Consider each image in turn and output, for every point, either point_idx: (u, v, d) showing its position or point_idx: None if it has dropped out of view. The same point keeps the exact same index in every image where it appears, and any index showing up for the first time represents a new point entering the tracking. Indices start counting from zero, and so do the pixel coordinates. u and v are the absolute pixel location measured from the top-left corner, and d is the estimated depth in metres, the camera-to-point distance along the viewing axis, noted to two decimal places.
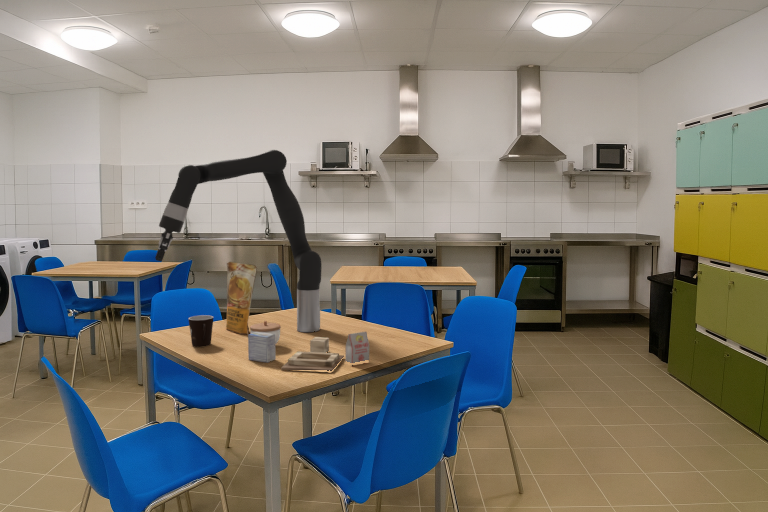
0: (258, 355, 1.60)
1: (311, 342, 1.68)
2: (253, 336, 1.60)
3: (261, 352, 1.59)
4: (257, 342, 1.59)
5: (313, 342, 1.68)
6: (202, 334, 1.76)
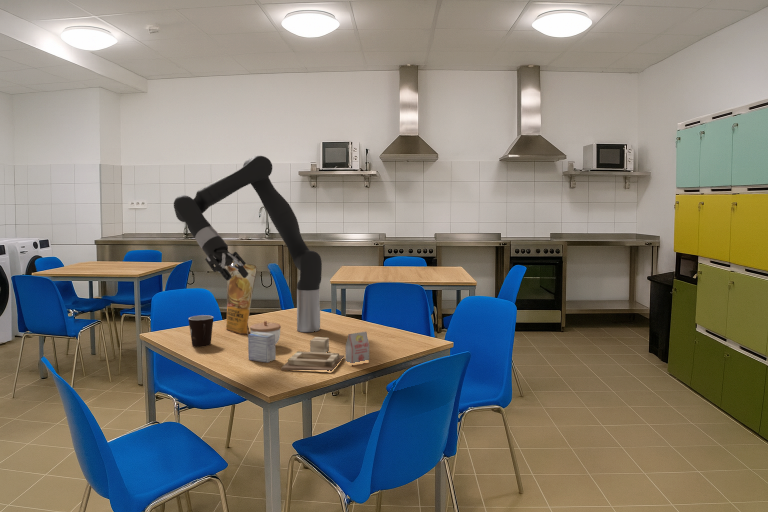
0: (258, 355, 1.60)
1: (311, 342, 1.68)
2: (253, 336, 1.60)
3: (261, 352, 1.59)
4: (257, 342, 1.59)
5: (313, 342, 1.68)
6: (202, 334, 1.76)
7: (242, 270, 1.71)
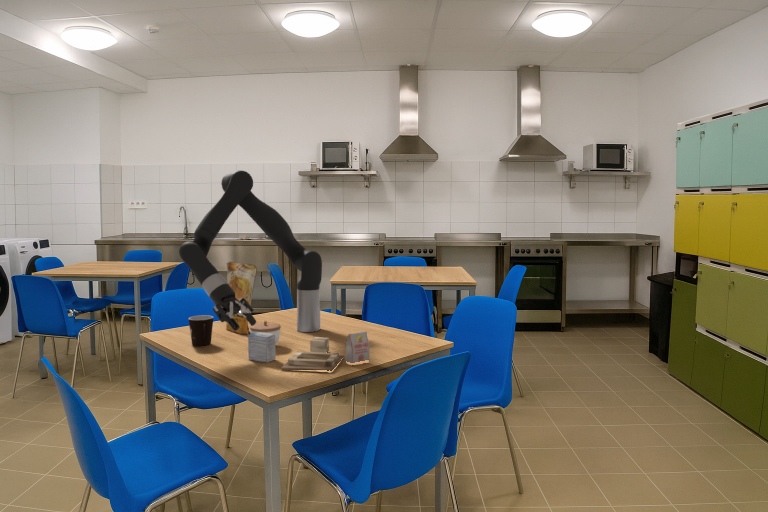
0: (258, 355, 1.60)
1: (311, 342, 1.68)
2: (253, 336, 1.60)
3: (261, 352, 1.59)
4: (257, 342, 1.59)
5: (313, 342, 1.68)
6: (202, 334, 1.76)
7: (250, 318, 1.67)
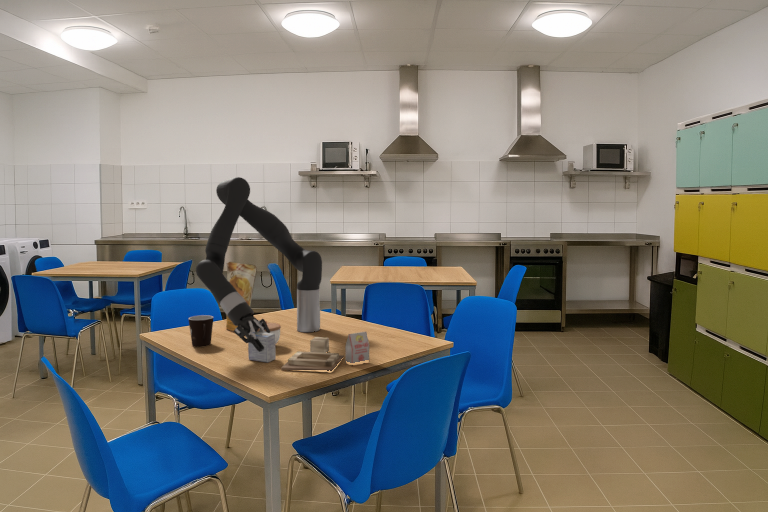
0: (258, 355, 1.60)
1: (311, 342, 1.68)
2: None
3: (261, 352, 1.59)
4: None
5: (313, 342, 1.68)
6: (202, 334, 1.76)
7: None
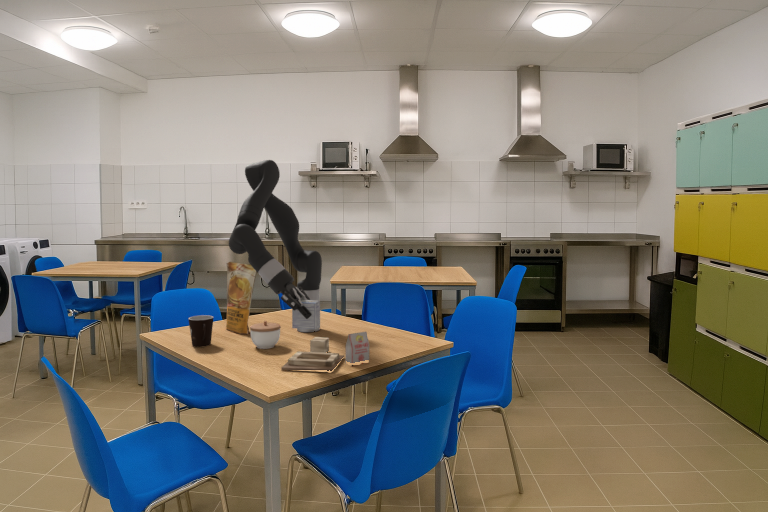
0: (304, 322, 1.54)
1: (311, 342, 1.68)
2: None
3: (308, 319, 1.54)
4: None
5: (313, 342, 1.68)
6: (202, 334, 1.76)
7: None
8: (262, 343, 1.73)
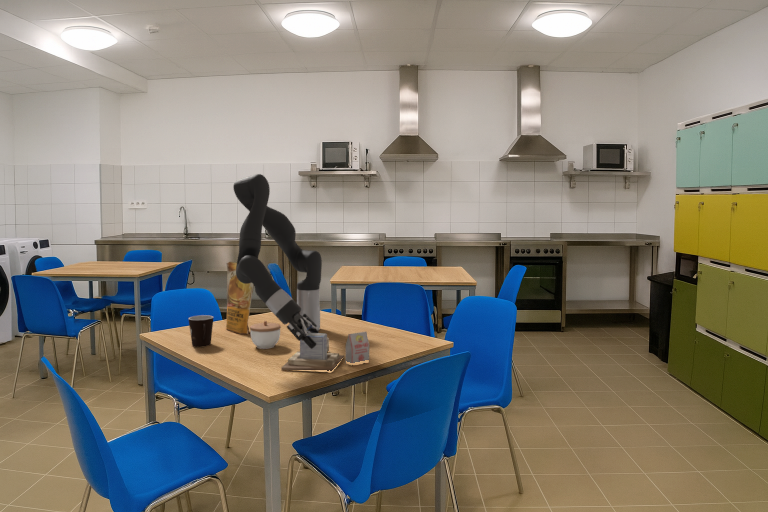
0: (312, 356, 1.55)
1: None
2: None
3: (316, 353, 1.55)
4: None
5: None
6: (202, 334, 1.76)
7: None
8: (262, 343, 1.73)
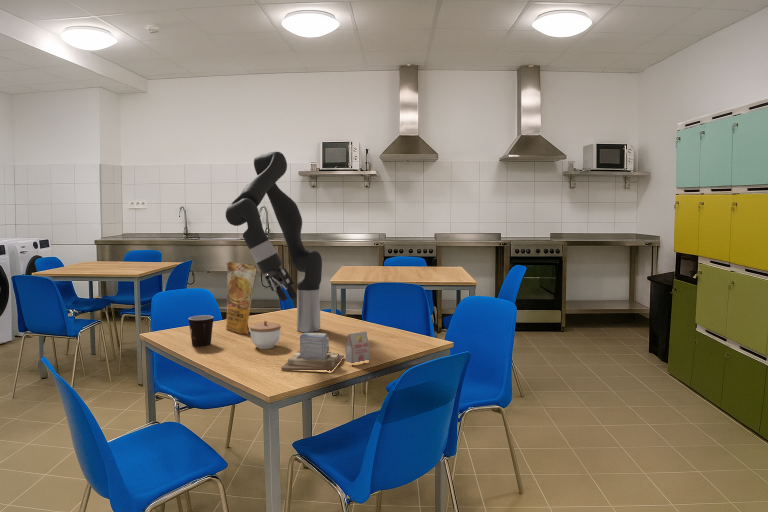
0: (312, 356, 1.55)
1: None
2: (306, 337, 1.55)
3: (316, 353, 1.55)
4: (312, 343, 1.55)
5: None
6: (202, 334, 1.76)
7: (282, 293, 1.68)
8: (262, 343, 1.73)
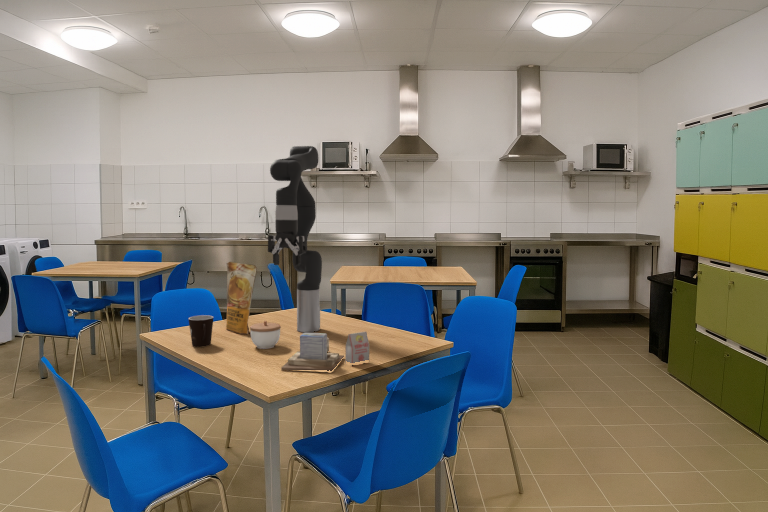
0: (312, 356, 1.55)
1: None
2: (306, 337, 1.55)
3: (316, 353, 1.55)
4: (312, 343, 1.55)
5: None
6: (202, 334, 1.76)
7: (278, 258, 1.73)
8: (262, 343, 1.73)
